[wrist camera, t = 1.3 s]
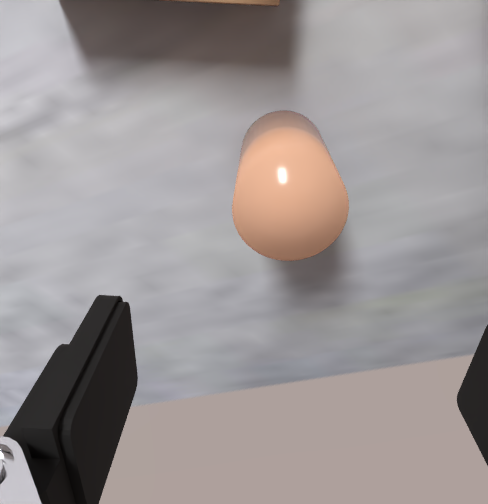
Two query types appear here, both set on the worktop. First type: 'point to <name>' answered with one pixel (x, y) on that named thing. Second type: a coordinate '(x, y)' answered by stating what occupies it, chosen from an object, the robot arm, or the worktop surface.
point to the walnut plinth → (236, 2)
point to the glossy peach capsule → (287, 189)
